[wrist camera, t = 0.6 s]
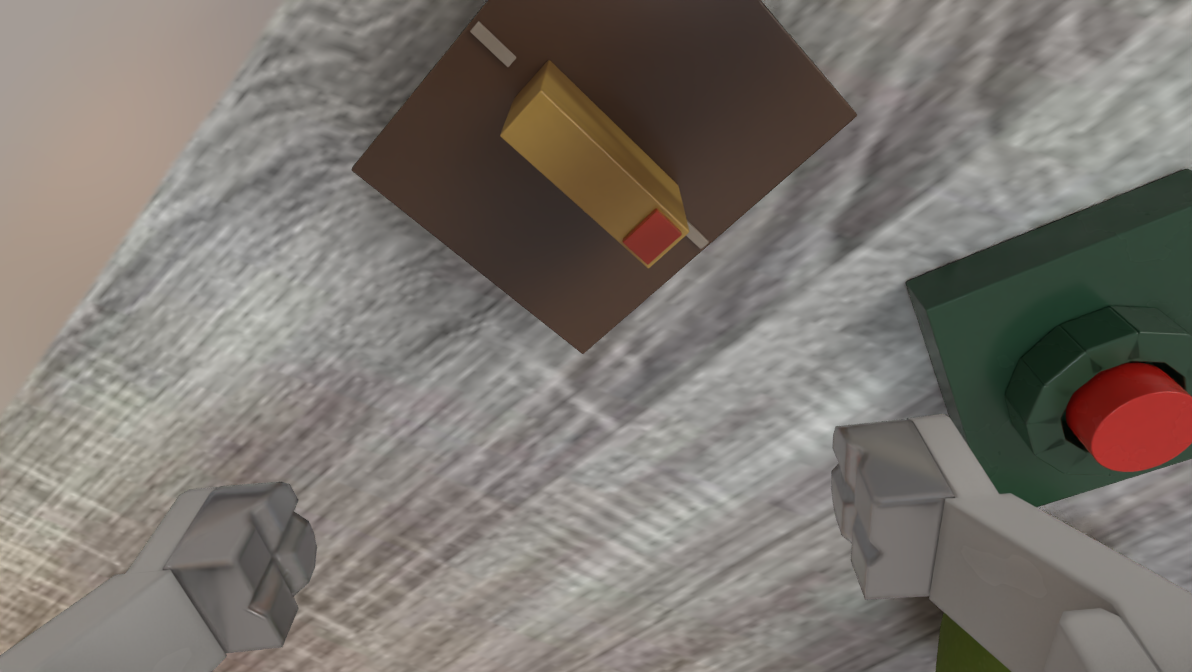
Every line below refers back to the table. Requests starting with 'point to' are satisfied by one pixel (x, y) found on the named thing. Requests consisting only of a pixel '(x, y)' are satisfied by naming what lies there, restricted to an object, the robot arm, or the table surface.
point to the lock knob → (596, 165)
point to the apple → (963, 651)
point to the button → (1131, 417)
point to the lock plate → (636, 105)
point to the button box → (1060, 332)
